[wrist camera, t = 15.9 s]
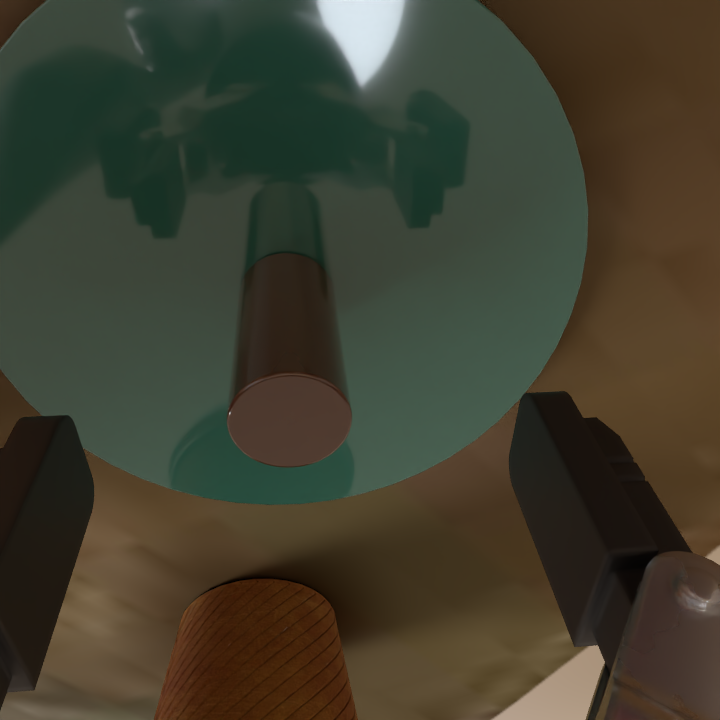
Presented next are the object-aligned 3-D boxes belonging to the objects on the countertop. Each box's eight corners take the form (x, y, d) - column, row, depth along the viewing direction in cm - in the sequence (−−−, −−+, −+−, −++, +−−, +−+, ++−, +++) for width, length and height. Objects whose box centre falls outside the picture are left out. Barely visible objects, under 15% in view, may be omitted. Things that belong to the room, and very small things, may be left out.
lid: (60, 496, 21) (-7, 678, 16) (-157, -84, 12) (-469, -78, 7) (522, 464, 22) (592, 623, 17) (641, -74, 13) (856, -63, 8)
